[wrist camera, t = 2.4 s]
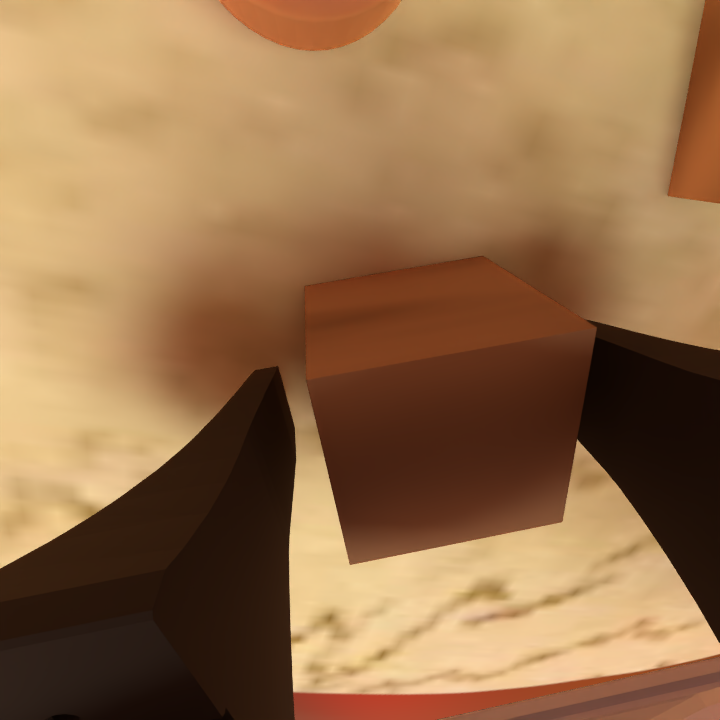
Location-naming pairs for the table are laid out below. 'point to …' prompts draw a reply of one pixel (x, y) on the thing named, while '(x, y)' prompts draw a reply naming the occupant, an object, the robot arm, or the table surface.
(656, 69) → the table surface
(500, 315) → the walnut cube
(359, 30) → the terracotta cylinder
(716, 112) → the oak block
